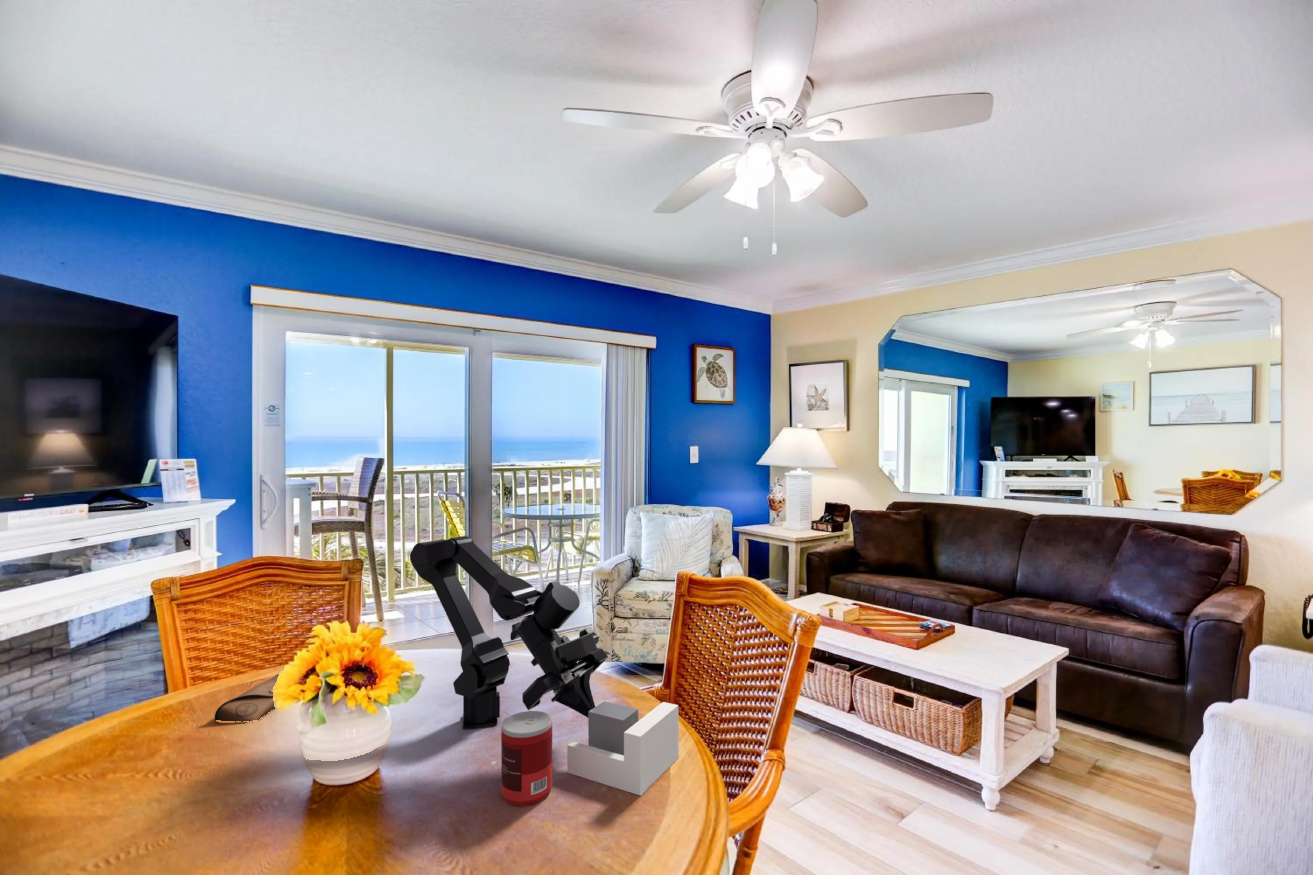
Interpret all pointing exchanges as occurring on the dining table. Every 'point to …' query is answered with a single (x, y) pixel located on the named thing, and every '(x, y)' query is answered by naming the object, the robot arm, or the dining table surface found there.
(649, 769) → the socket
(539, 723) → the canned food
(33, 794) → the dining table surface
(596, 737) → the plug
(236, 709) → the sunglasses case
